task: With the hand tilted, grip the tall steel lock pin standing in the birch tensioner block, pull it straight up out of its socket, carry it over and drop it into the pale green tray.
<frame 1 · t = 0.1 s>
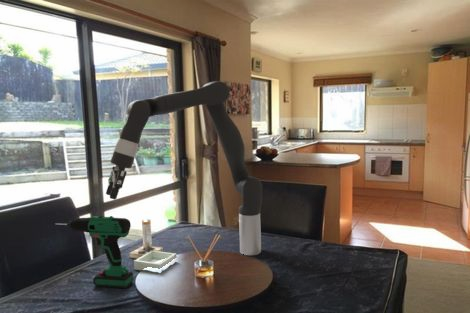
hand: (110, 196, 131), 31 cm above the table, tool tilted 20°, fingers open, 8 cm apart
tray: (156, 265, 148), on the table
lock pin: (147, 253, 161), resting in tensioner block
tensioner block: (146, 254, 160), on the table
power drill: (94, 283, 133), on the table
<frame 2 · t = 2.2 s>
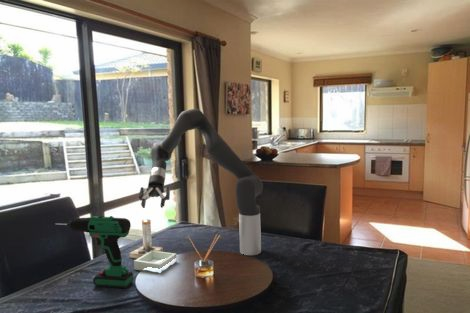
hand: (152, 206, 171), 18 cm above the table, tool tilted 45°, fingers open, 8 cm apart
nothing on the table moved.
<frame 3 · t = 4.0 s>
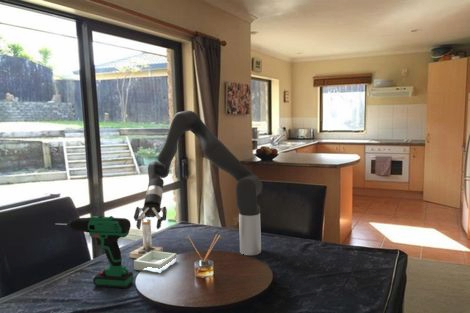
hand: (148, 228, 162), 11 cm above the table, tool tilted 45°, fingers open, 8 cm apart
nothing on the table moved.
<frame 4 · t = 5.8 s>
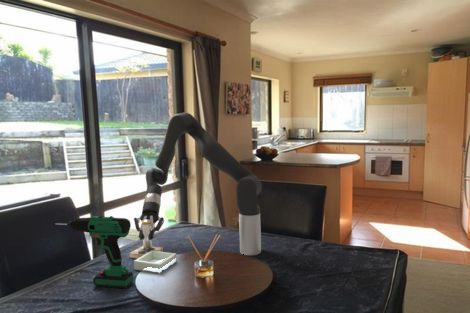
hand: (145, 239, 158), 7 cm above the table, tool tilted 45°, fingers closed on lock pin, 3 cm apart
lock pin: (147, 253, 161), resting in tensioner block, touching gripper
everything else where it was.
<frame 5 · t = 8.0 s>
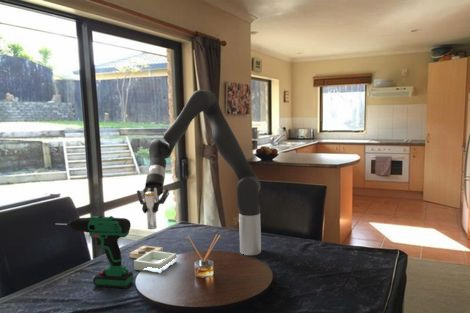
hand: (149, 211, 149), 21 cm above the table, tool tilted 45°, fingers closed on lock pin, 3 cm apart
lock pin: (152, 228, 152), point 14 cm above the table, touching gripper
everything else where it was.
when the fingers open (9 cm above the table, at t = 10.7 s): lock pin drops 1 cm, resting on tray.
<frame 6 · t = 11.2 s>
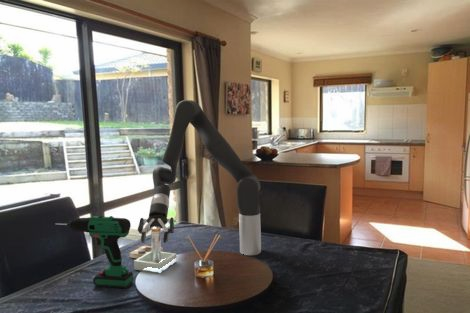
hand: (153, 242, 145), 10 cm above the table, tool tilted 45°, fingers open, 8 cm apart
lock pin: (156, 263, 148), point 1 cm above the table, touching tray
everything else where it was.
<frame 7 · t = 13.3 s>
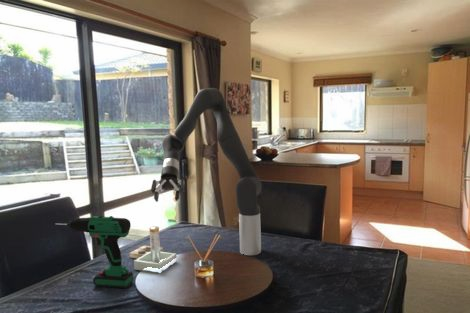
hand: (166, 200, 157), 24 cm above the table, tool tilted 45°, fingers open, 8 cm apart
nothing on the table moved.
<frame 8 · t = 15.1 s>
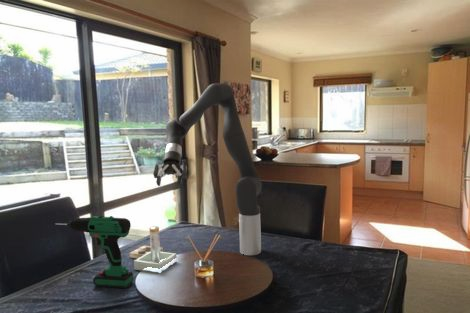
hand: (168, 184, 157), 31 cm above the table, tool tilted 45°, fingers open, 8 cm apart
nothing on the table moved.
at the end: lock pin inside the target area on the tray (0.1 cm from its centre), point 0.6 cm above the tray's base; the gripper is holding nothing; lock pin moved 14.8 cm from its start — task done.
